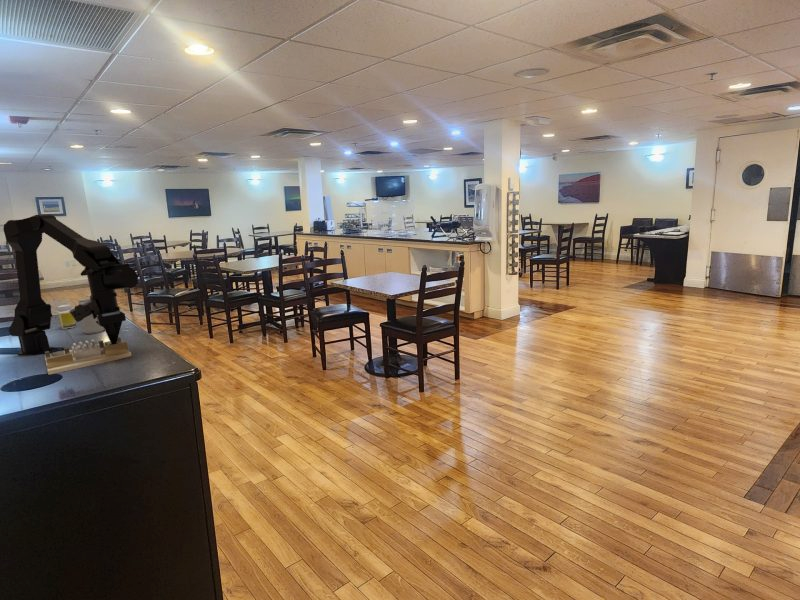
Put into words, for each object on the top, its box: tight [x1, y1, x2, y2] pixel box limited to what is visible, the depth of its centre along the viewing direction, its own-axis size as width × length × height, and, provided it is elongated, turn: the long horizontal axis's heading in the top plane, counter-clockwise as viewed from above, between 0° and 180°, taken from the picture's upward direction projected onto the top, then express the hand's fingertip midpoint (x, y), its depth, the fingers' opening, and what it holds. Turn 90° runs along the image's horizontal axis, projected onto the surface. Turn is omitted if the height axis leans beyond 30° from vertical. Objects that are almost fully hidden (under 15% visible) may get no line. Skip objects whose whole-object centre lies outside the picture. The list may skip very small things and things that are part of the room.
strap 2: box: [103, 340, 118, 346], centre depth 138 cm, size 12×3×1 cm, turn 38°
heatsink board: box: [43, 336, 132, 376], centre depth 135 cm, size 20×19×4 cm
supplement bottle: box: [57, 304, 77, 330], centre depth 175 cm, size 5×5×8 cm
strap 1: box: [50, 350, 64, 357], centre depth 131 cm, size 12×3×1 cm, turn 38°
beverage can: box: [77, 297, 105, 335], centre depth 165 cm, size 6×6×12 cm
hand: (114, 344), depth 135 cm, fingers closed
